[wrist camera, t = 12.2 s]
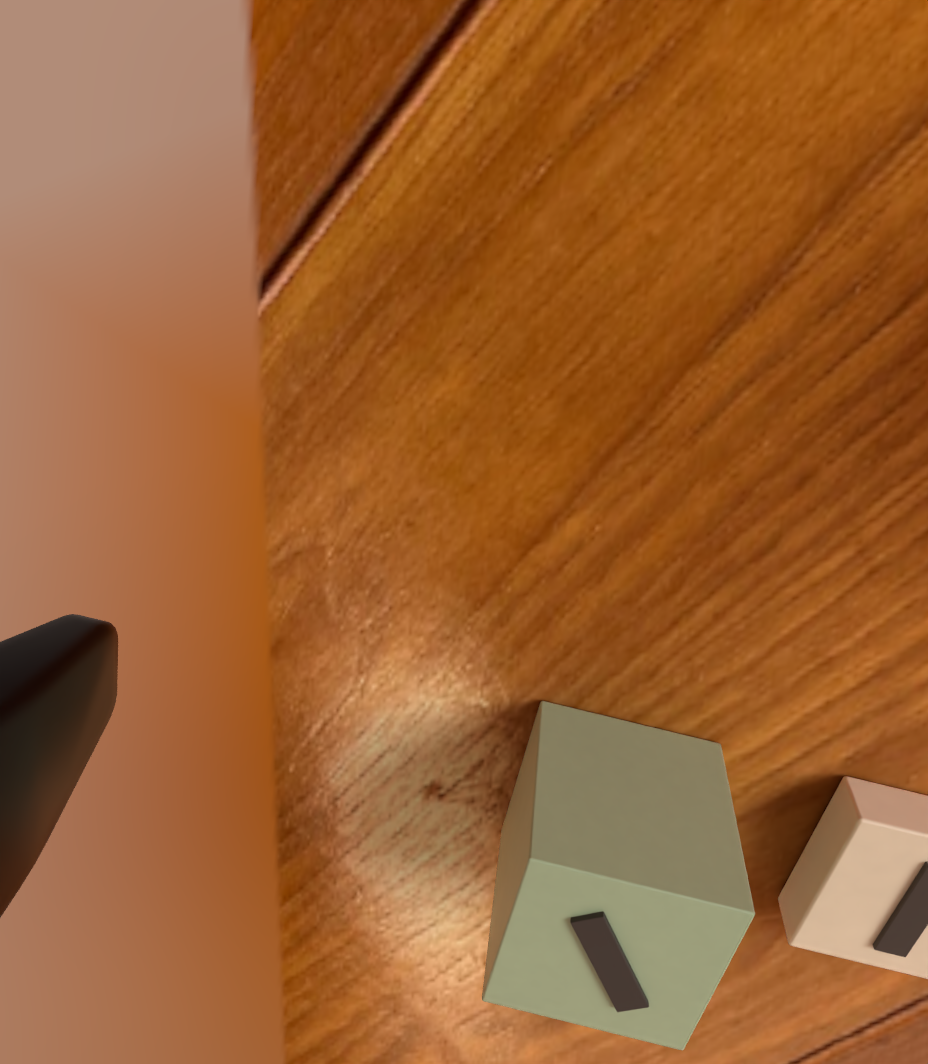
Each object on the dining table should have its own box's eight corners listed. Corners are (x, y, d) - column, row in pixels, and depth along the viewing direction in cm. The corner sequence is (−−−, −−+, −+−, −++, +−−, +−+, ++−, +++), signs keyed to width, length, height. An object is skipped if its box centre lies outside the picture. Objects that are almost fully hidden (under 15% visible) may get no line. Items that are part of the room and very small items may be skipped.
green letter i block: (501, 829, 23) (480, 1007, 19) (541, 699, 21) (528, 864, 17) (665, 869, 23) (684, 1057, 19) (721, 742, 21) (758, 920, 17)
